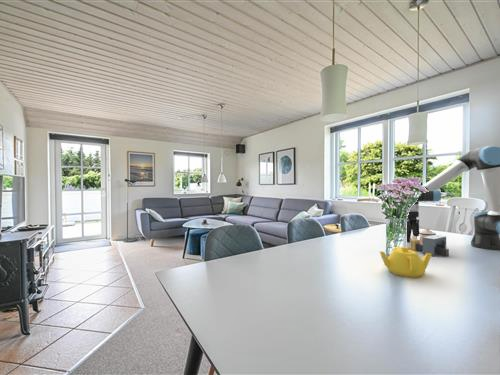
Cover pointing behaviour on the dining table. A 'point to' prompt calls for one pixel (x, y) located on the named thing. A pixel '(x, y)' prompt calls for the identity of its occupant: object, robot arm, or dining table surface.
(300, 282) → the dining table surface
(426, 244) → the housing
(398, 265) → the teapot
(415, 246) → the plug
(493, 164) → the robot arm
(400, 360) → the dining table surface
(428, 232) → the teacup with lid
